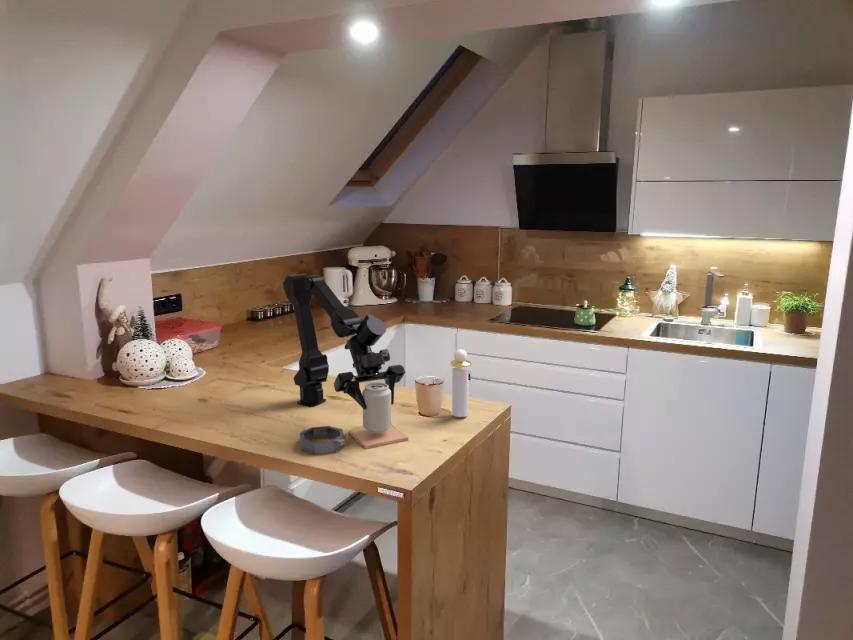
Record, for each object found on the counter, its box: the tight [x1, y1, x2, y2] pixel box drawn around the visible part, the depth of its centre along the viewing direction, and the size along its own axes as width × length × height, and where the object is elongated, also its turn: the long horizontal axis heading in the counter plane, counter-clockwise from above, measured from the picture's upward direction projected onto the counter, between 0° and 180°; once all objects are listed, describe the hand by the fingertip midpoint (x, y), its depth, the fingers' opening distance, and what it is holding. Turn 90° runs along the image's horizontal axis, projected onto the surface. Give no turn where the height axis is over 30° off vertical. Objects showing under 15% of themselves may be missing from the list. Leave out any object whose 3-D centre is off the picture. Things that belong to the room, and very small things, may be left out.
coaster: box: [348, 423, 409, 450], centre depth 171 cm, size 12×12×1 cm
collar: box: [299, 425, 346, 456], centre depth 165 cm, size 13×11×3 cm
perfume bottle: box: [449, 348, 472, 418], centre depth 183 cm, size 6×6×20 cm
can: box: [361, 382, 392, 433], centre depth 169 cm, size 8×8×12 cm
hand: (379, 406), depth 168 cm, fingers closed on can, 7 cm apart
